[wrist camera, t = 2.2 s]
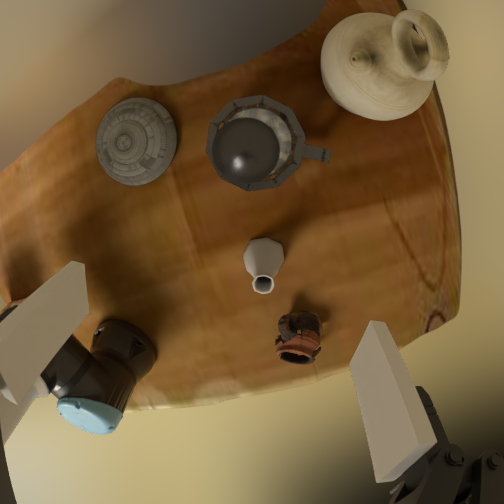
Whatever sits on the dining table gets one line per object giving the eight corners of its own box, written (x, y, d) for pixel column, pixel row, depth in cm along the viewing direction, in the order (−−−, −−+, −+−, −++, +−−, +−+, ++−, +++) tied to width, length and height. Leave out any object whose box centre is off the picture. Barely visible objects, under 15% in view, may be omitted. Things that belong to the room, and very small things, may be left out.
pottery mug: (333, 327, 57) (327, 365, 52) (293, 332, 63) (286, 367, 58) (303, 296, 51) (294, 338, 46) (261, 304, 57) (250, 342, 52)
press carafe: (216, 171, 47) (198, 185, 34) (226, 100, 42) (212, 88, 30) (308, 186, 47) (323, 205, 35) (320, 116, 42) (341, 109, 30)
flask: (281, 277, 53) (284, 308, 44) (240, 273, 53) (235, 302, 44) (288, 239, 50) (293, 264, 41) (245, 234, 50) (240, 257, 41)
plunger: (217, 170, 36) (163, 214, 17) (226, 104, 33) (180, 69, 14) (284, 181, 36) (308, 236, 17) (295, 115, 33) (336, 90, 14)
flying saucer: (193, 162, 46) (184, 166, 41) (119, 197, 49) (104, 205, 44) (160, 82, 41) (148, 77, 36) (89, 124, 44) (72, 125, 39)
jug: (395, 42, 36) (482, -5, 13) (401, 126, 42) (501, 131, 19) (308, 31, 37) (345, -49, 14) (313, 119, 43) (364, 105, 20)
